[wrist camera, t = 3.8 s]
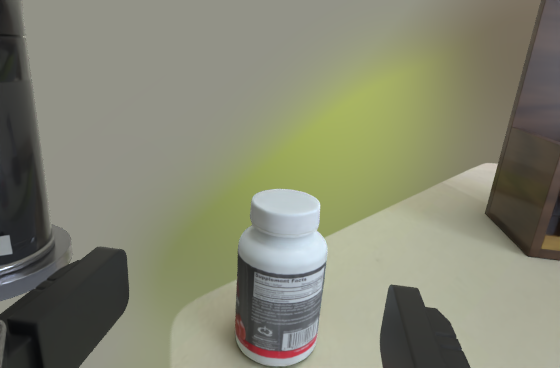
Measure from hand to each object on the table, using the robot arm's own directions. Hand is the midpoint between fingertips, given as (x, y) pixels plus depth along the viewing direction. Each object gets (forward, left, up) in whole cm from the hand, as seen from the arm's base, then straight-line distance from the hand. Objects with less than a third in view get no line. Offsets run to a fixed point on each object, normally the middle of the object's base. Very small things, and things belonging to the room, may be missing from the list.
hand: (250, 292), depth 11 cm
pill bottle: (-4, +10, -11) cm, 15 cm away
